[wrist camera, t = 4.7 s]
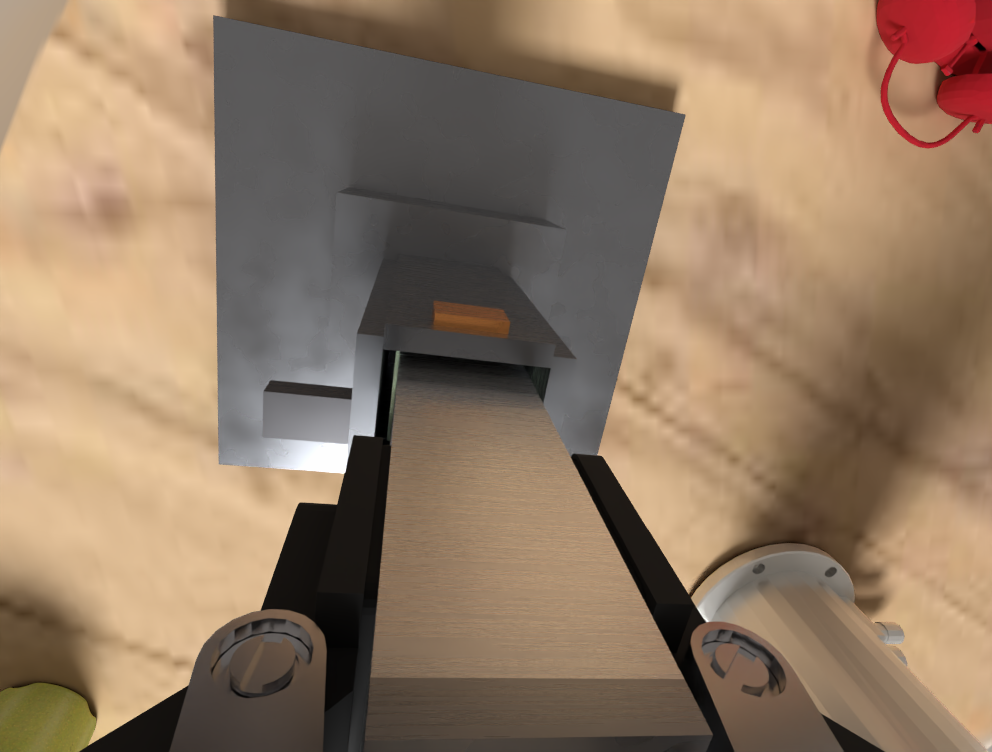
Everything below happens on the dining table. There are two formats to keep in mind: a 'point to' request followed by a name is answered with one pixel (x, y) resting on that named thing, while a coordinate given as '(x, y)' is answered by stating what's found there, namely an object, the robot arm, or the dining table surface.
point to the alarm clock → (942, 55)
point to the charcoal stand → (415, 237)
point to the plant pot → (44, 719)
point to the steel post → (506, 586)
